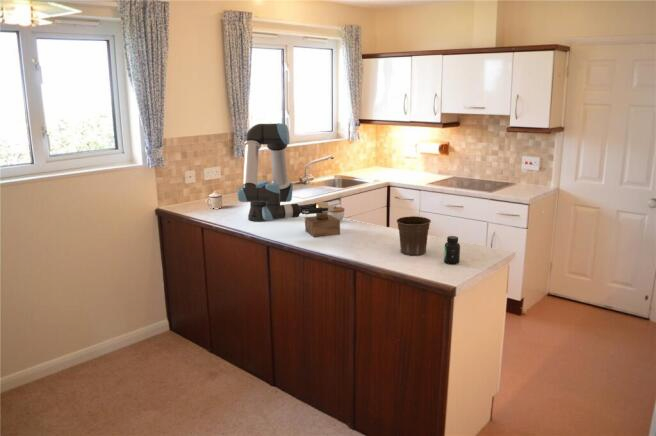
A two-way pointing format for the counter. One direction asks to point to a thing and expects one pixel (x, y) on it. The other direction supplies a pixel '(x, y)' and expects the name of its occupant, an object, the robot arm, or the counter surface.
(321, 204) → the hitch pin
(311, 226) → the block
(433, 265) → the counter surface
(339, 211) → the lidded jar
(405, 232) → the plant pot
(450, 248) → the supplement bottle
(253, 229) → the counter surface
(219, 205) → the teacup with lid
